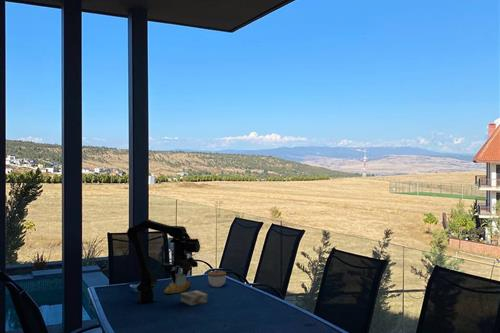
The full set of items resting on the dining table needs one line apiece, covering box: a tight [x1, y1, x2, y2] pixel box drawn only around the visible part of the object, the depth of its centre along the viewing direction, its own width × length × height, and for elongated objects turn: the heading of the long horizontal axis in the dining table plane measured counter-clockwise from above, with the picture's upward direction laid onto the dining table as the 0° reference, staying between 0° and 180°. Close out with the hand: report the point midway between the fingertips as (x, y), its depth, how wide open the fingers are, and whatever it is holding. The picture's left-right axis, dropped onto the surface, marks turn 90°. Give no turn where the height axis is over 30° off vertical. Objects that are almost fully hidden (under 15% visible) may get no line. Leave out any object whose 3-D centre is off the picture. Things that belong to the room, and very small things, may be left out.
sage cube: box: [171, 272, 187, 286], centre depth 235 cm, size 5×5×5 cm
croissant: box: [163, 280, 192, 295], centre depth 262 cm, size 21×10×8 cm, turn 148°
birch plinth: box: [180, 290, 208, 306], centre depth 241 cm, size 10×10×4 cm
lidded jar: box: [207, 269, 227, 288], centre depth 274 cm, size 11×11×9 cm
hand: (179, 282), depth 235 cm, fingers closed on sage cube, 5 cm apart
